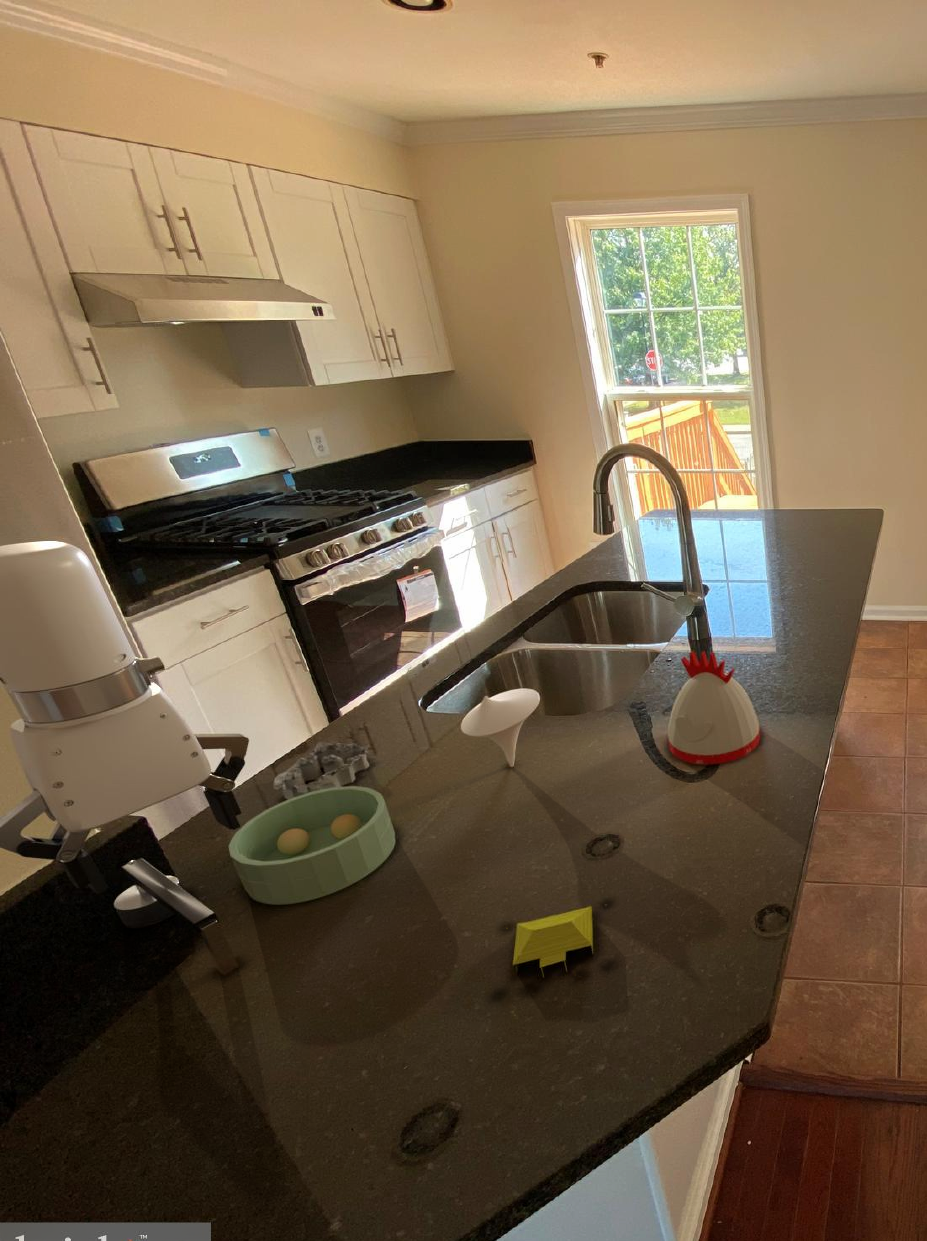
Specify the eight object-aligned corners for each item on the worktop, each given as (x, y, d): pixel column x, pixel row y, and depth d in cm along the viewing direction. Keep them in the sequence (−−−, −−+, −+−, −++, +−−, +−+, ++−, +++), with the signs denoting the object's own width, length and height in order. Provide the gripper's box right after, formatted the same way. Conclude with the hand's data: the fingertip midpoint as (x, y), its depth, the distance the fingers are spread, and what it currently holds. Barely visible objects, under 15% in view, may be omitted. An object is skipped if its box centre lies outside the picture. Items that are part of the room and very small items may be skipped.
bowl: (220, 876, 79) (203, 838, 77) (354, 809, 91) (342, 774, 89) (287, 922, 73) (270, 882, 71) (421, 844, 85) (410, 807, 83)
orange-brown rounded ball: (276, 854, 82) (268, 834, 81) (304, 840, 85) (297, 820, 83) (289, 863, 81) (281, 842, 80) (318, 848, 83) (310, 827, 82)
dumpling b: (329, 839, 85) (322, 819, 84) (355, 826, 87) (348, 806, 86) (343, 847, 83) (336, 827, 82) (369, 833, 86) (362, 813, 85)
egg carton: (331, 805, 92) (321, 779, 90) (273, 805, 92) (262, 779, 90) (379, 760, 102) (372, 736, 100) (327, 760, 102) (318, 736, 100)
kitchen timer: (696, 713, 116) (688, 630, 110) (773, 725, 113) (769, 640, 107) (651, 756, 104) (640, 665, 98) (736, 771, 100) (729, 678, 94)
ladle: (115, 917, 74) (88, 868, 71) (175, 888, 78) (151, 840, 75) (199, 990, 66) (172, 937, 63) (261, 953, 70) (238, 902, 67)
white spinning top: (482, 796, 94) (462, 719, 89) (465, 761, 102) (447, 689, 97) (561, 770, 100) (547, 697, 95) (540, 739, 108) (526, 670, 103)
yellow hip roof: (606, 905, 76) (603, 885, 75) (609, 970, 68) (605, 948, 67) (506, 929, 73) (501, 908, 72) (497, 1000, 65) (491, 978, 64)
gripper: (191, 646, 67) (255, 794, 73) (-93, 728, 53) (18, 901, 59) (230, 661, 63) (293, 814, 70) (-63, 752, 49) (51, 932, 56)
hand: (167, 854), depth 65 cm, fingers open, 9 cm apart
